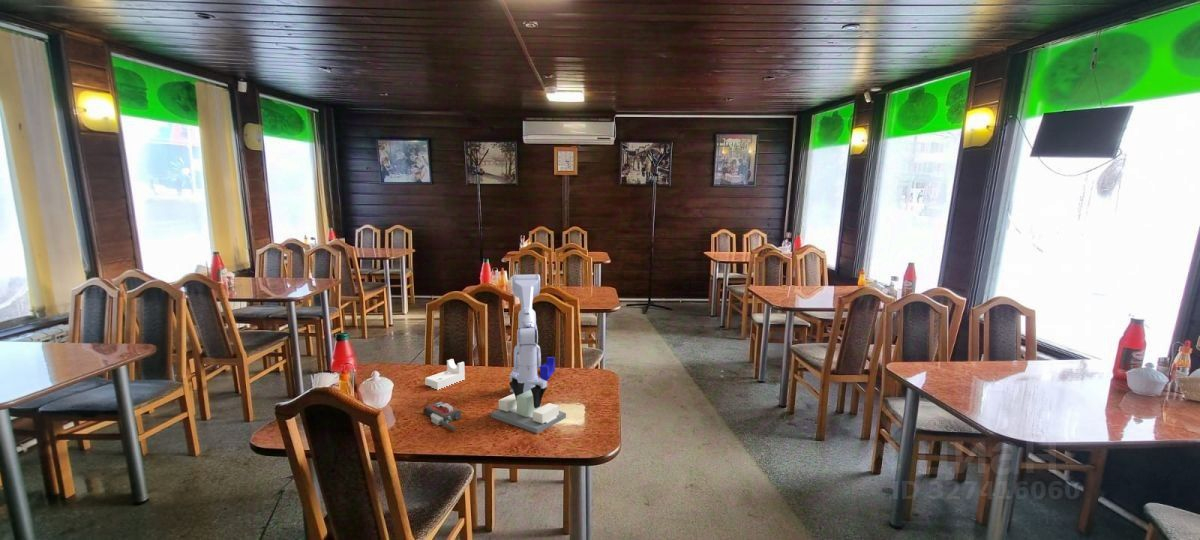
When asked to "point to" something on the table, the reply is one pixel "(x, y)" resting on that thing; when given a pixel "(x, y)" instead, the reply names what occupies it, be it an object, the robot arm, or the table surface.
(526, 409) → the module block
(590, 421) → the table surface
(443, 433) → the table surface
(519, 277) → the robot arm
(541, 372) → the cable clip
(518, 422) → the mounting plate
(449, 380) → the bracket
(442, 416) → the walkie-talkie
